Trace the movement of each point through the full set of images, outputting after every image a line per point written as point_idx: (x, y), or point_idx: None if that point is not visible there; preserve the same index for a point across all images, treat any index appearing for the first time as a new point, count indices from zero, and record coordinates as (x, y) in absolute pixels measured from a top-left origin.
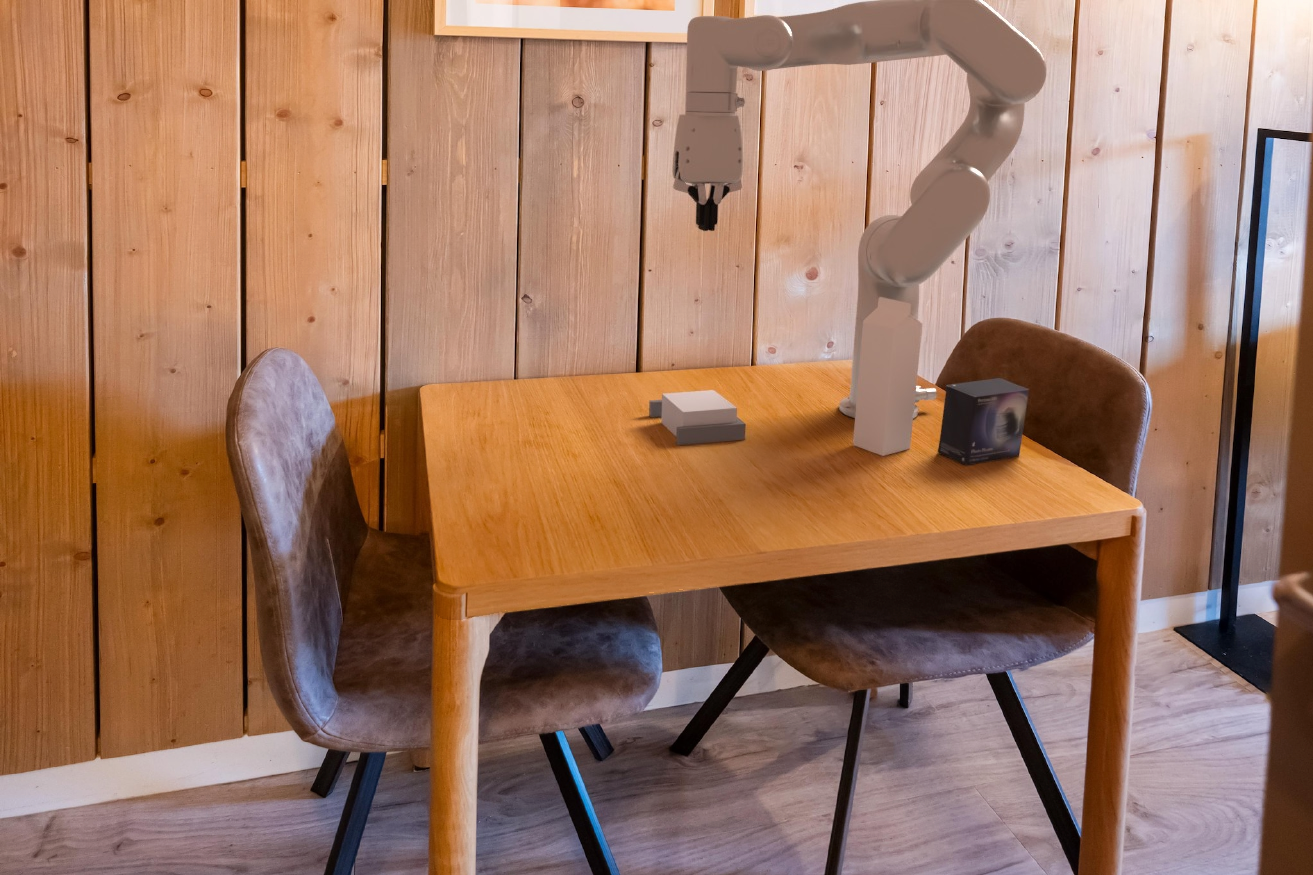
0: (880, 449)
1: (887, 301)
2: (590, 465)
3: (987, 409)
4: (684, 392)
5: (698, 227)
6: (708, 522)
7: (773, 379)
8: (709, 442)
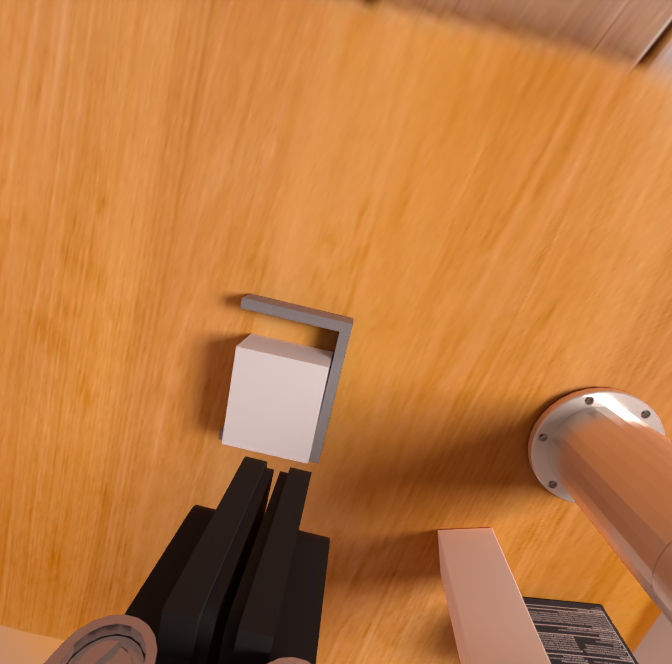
0: (441, 575)
1: None
2: (95, 437)
3: None
4: (275, 357)
5: (246, 458)
6: None
7: (593, 192)
8: None
